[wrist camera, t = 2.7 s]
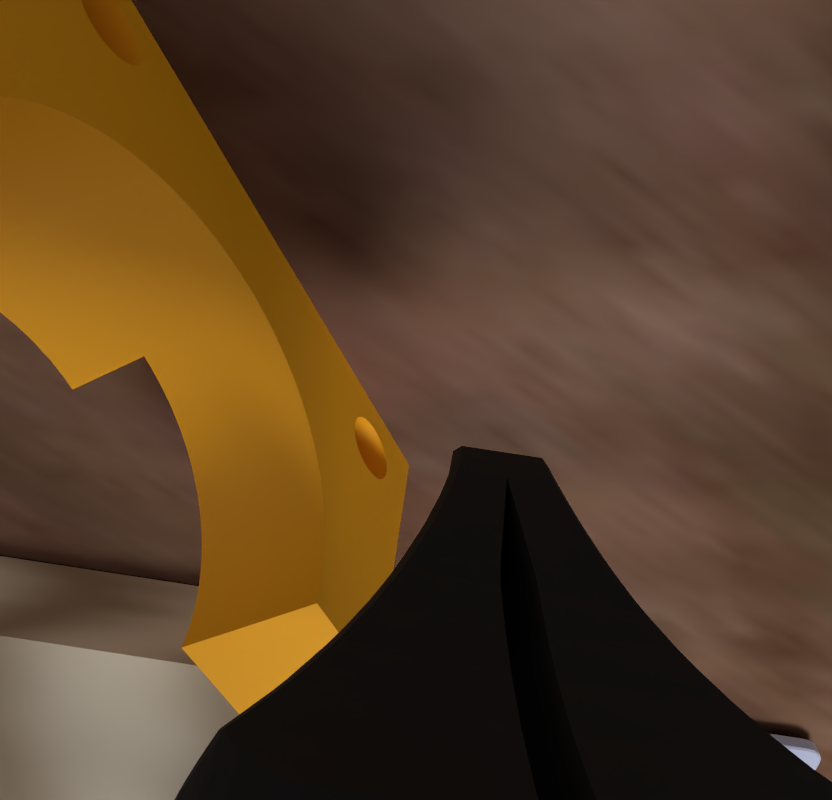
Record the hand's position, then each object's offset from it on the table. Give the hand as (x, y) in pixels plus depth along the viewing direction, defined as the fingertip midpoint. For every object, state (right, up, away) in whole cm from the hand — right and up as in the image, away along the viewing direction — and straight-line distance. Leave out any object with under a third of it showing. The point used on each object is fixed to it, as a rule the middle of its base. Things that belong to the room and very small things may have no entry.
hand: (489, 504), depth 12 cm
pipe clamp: (-6, +4, +5) cm, 9 cm away
